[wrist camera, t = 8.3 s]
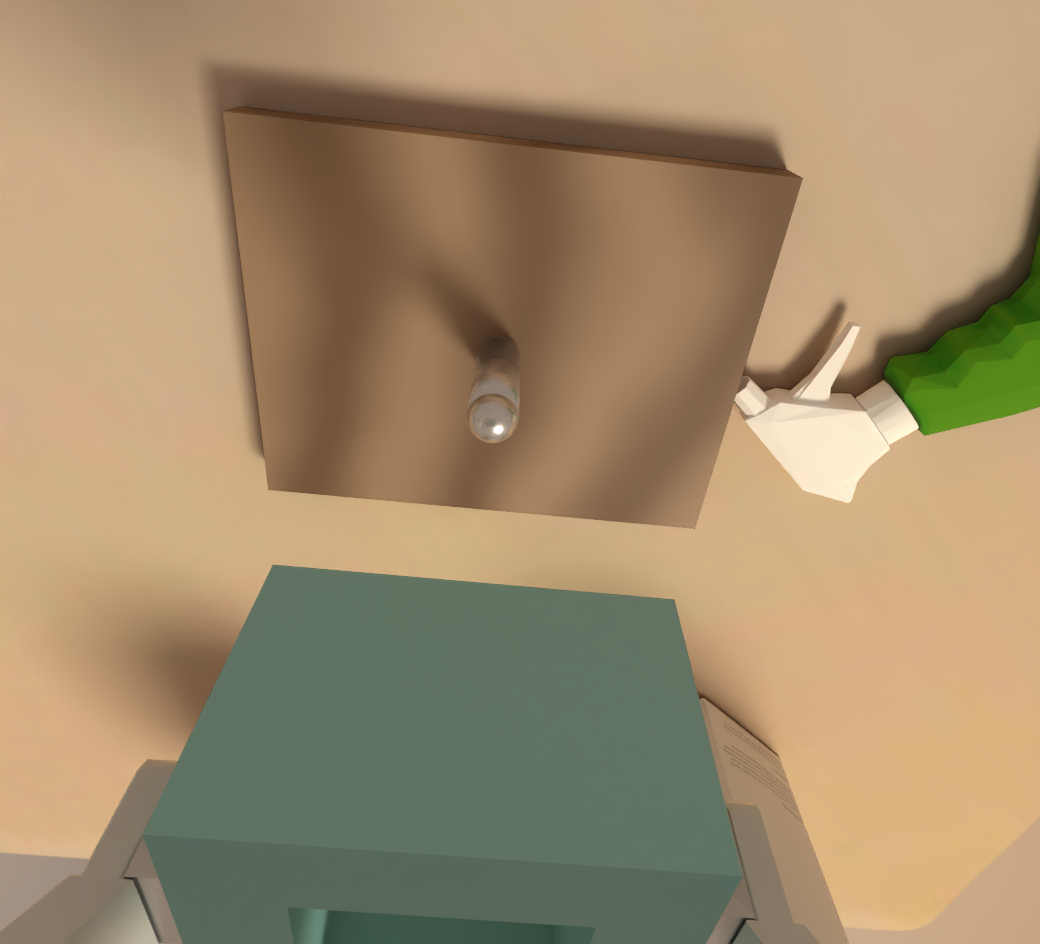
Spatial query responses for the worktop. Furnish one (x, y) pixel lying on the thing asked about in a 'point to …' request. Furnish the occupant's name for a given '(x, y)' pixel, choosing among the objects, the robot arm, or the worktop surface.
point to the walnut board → (496, 312)
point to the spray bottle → (901, 395)
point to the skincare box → (774, 820)
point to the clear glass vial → (495, 391)
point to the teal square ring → (447, 772)
